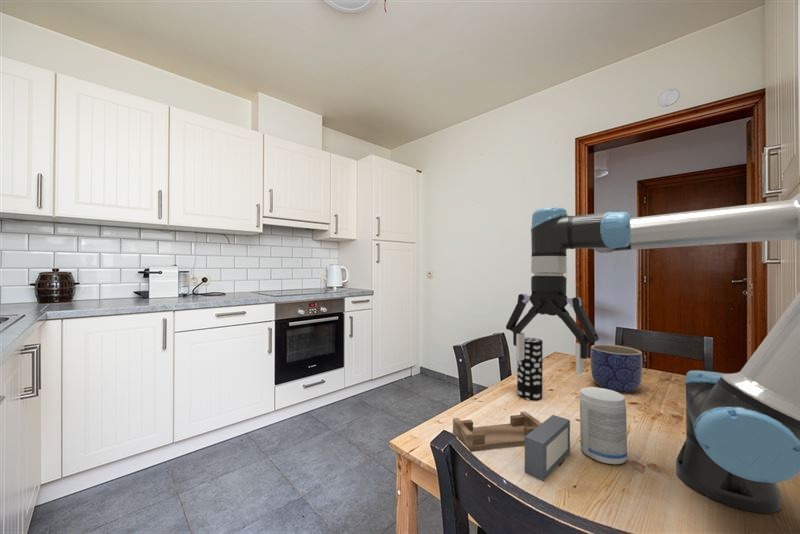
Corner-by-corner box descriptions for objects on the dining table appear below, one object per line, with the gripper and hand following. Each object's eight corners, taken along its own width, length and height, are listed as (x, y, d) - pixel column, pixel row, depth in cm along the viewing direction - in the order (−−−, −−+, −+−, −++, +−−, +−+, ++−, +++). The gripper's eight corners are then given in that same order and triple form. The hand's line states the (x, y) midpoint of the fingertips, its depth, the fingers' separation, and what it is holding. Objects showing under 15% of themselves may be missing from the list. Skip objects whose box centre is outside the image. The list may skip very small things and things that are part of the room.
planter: (654, 396, 114) (653, 354, 115) (607, 395, 114) (607, 354, 115) (622, 380, 131) (622, 344, 131) (582, 380, 131) (581, 343, 131)
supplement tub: (637, 463, 74) (637, 399, 74) (603, 469, 71) (603, 403, 72) (602, 441, 83) (601, 385, 83) (571, 446, 81) (570, 387, 81)
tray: (545, 442, 82) (546, 426, 82) (466, 452, 78) (466, 434, 78) (525, 426, 91) (525, 411, 91) (452, 433, 86) (453, 418, 86)
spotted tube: (544, 395, 115) (544, 339, 115) (540, 402, 108) (540, 343, 108) (520, 390, 119) (520, 336, 120) (514, 397, 112) (515, 340, 112)
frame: (570, 452, 78) (570, 420, 78) (543, 482, 67) (543, 443, 67) (552, 446, 81) (552, 414, 81) (524, 473, 70) (524, 436, 70)
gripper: (615, 275, 68) (615, 375, 68) (507, 274, 86) (507, 352, 86) (604, 275, 63) (604, 383, 63) (492, 274, 81) (492, 357, 81)
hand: (548, 365), depth 74 cm, fingers open, 13 cm apart
